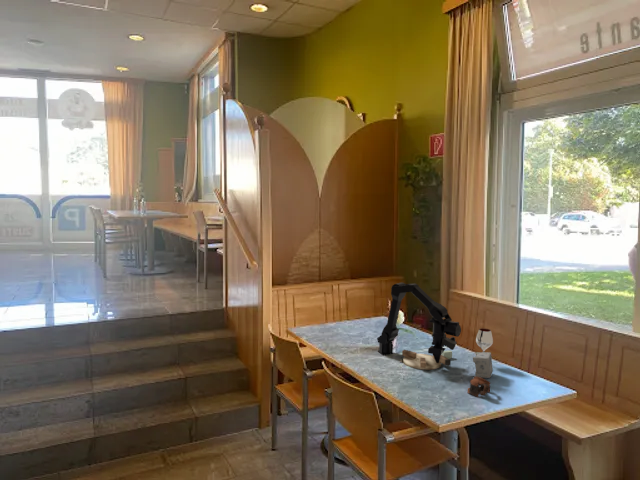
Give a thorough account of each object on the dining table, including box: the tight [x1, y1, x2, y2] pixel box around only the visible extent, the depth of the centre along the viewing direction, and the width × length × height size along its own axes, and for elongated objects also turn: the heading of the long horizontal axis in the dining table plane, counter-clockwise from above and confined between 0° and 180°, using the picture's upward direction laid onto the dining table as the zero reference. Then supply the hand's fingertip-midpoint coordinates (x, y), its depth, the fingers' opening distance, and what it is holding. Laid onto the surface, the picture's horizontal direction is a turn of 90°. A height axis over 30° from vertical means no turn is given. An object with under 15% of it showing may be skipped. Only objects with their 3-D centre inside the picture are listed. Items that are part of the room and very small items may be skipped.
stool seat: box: [401, 349, 442, 371], centre depth 244 cm, size 19×20×4 cm
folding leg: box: [432, 354, 452, 367], centre depth 242 cm, size 12×3×3 cm, turn 20°
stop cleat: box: [441, 349, 453, 360], centre depth 252 cm, size 5×2×4 cm, turn 110°
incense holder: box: [472, 351, 494, 379], centre depth 228 cm, size 10×8×10 cm
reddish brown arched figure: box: [467, 375, 491, 398], centre depth 207 cm, size 12×10×8 cm
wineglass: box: [475, 327, 494, 352], centre depth 243 cm, size 8×8×18 cm
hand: (437, 362), depth 237 cm, fingers closed
